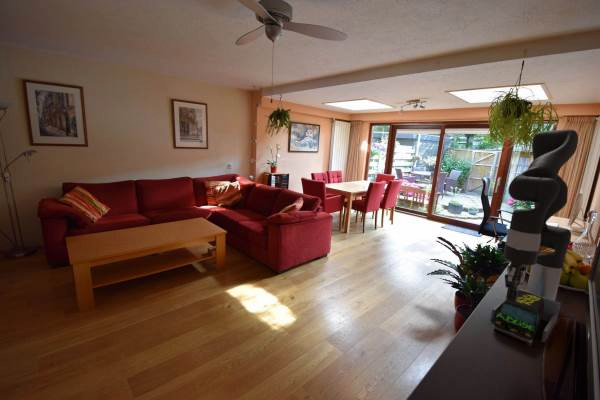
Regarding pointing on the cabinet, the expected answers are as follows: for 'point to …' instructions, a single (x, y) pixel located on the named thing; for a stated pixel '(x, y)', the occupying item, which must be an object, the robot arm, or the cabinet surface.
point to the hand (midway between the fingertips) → (511, 299)
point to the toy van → (520, 316)
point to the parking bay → (548, 314)
